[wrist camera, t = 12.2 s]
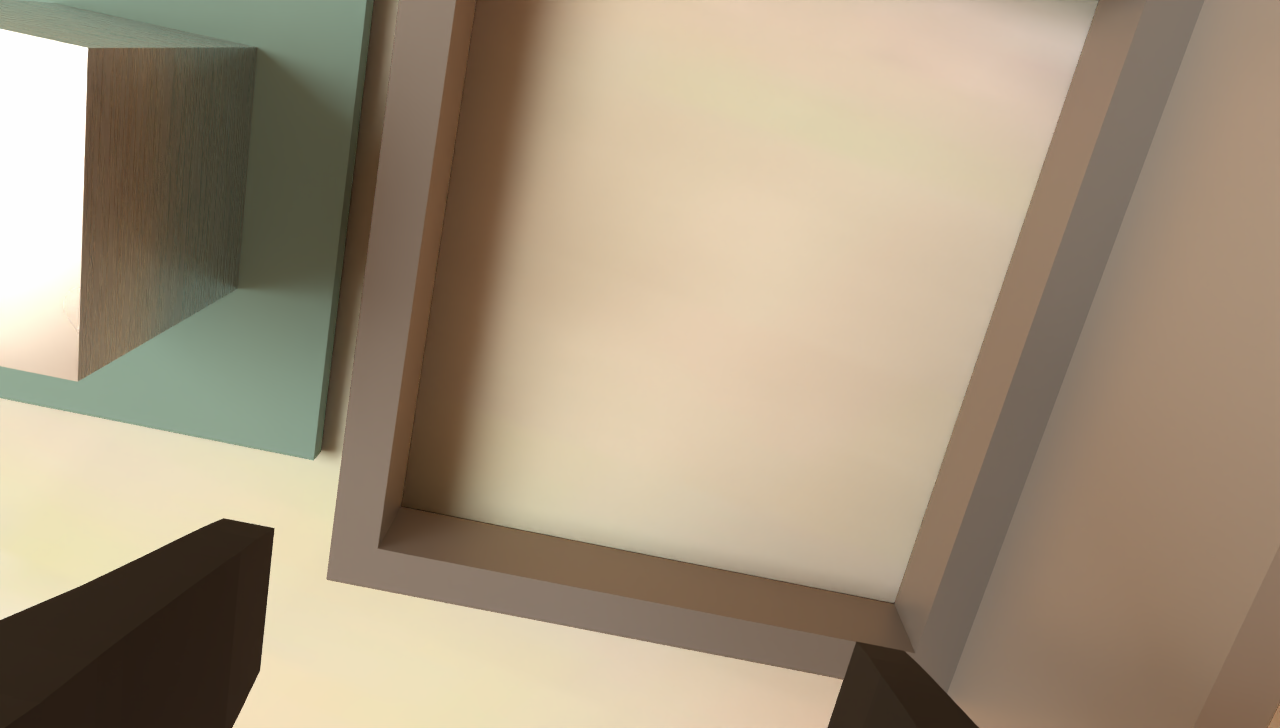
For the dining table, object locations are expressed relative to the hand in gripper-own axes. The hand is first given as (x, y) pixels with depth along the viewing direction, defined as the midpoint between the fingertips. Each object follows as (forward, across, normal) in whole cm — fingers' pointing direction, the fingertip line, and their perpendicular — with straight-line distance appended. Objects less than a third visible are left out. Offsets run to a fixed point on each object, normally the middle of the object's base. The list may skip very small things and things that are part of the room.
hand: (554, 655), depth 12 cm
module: (+10, +10, -3) cm, 14 cm away
